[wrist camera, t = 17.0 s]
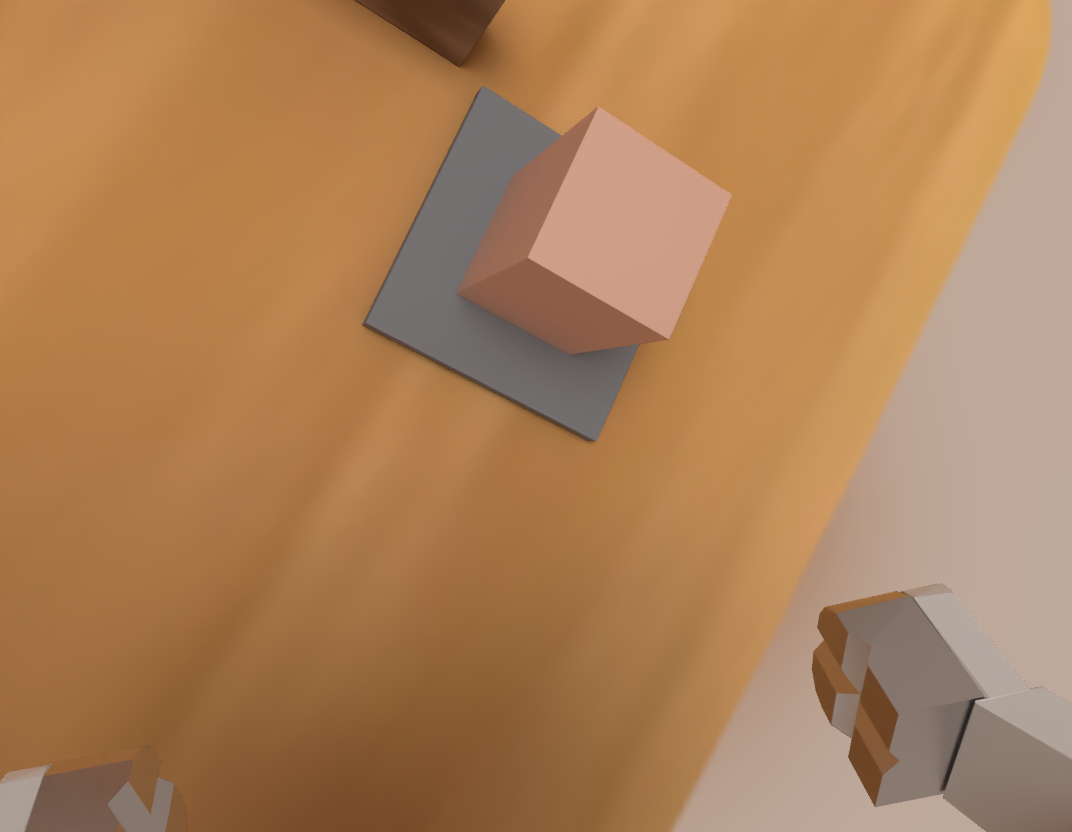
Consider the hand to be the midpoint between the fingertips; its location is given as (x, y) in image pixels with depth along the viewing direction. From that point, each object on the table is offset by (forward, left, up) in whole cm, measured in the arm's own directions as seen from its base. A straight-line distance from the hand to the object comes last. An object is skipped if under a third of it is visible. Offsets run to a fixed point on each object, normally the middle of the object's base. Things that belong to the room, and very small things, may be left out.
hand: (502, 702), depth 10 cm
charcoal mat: (+3, +12, -22) cm, 25 cm away
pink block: (+3, +12, -21) cm, 24 cm away
